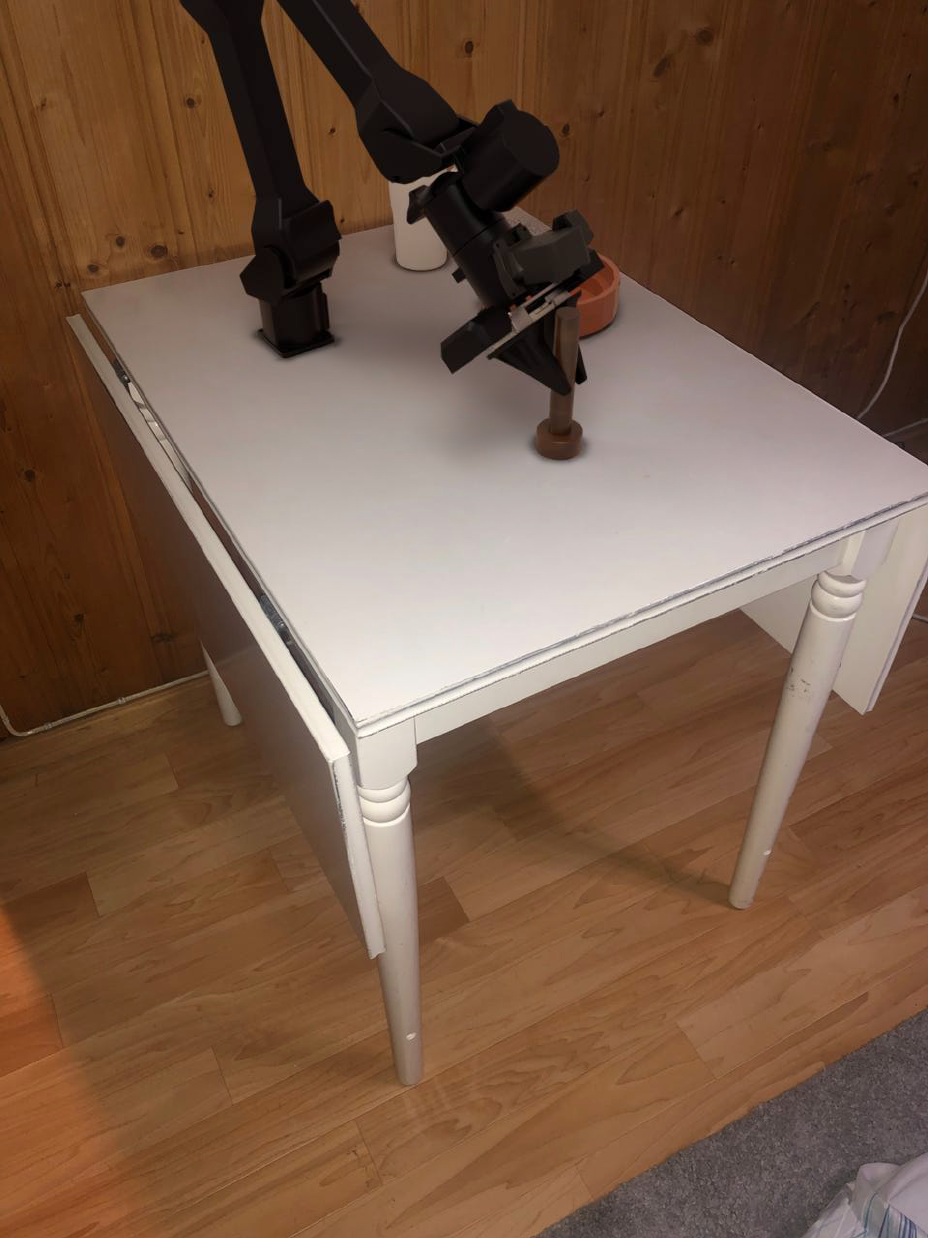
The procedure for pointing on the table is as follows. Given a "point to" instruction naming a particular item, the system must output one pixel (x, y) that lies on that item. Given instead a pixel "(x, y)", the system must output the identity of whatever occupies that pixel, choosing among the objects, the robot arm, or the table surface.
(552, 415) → the stick
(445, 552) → the table surface
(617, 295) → the bowl
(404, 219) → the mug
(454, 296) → the table surface
